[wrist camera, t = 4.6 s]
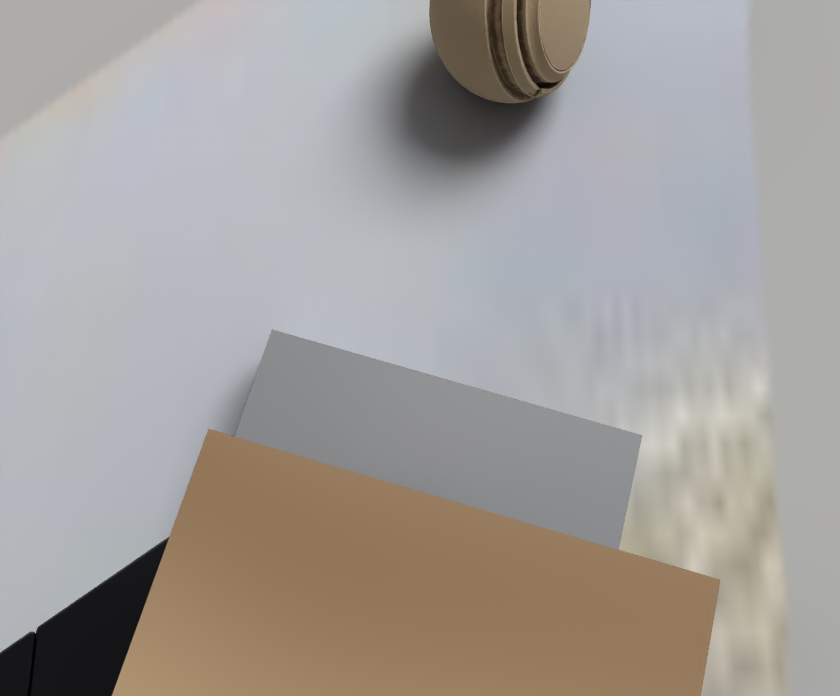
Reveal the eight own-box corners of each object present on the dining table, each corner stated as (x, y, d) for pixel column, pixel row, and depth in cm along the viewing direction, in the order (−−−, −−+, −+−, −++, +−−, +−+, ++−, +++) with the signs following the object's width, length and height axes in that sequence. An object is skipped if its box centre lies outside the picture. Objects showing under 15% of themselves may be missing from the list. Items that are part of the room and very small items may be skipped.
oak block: (462, 707, 14) (604, 1257, 4) (284, 652, 14) (-16, 1043, 4) (508, 521, 14) (719, 580, 5) (341, 471, 15) (208, 428, 5)
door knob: (460, 155, 20) (478, 48, 15) (404, 28, 21) (404, -110, 16) (601, 105, 21) (661, -14, 16) (540, -16, 22) (578, -163, 17)
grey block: (534, 823, 16) (552, 869, 14) (162, 705, 16) (129, 735, 15) (616, 441, 18) (642, 435, 16) (286, 346, 19) (272, 329, 17)
